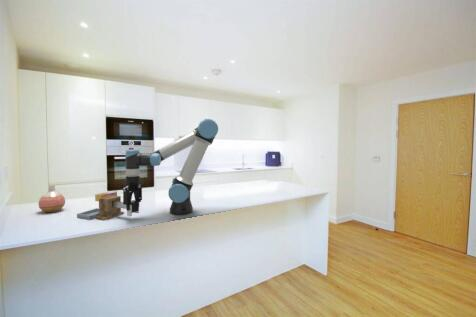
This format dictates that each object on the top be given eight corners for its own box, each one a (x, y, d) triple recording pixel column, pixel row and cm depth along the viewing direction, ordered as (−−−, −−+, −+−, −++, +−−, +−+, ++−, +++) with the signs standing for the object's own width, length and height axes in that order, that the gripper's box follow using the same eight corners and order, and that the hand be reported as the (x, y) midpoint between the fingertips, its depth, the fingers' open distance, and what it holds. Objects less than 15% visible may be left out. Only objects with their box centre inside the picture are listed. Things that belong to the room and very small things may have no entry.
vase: (55, 214, 143) (54, 186, 142) (32, 214, 142) (31, 186, 141) (70, 208, 157) (69, 183, 156) (49, 208, 156) (48, 183, 155)
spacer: (109, 199, 145) (109, 193, 144) (101, 201, 139) (101, 195, 139) (103, 198, 146) (103, 192, 146) (95, 201, 141) (95, 194, 140)
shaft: (138, 210, 137) (138, 200, 137) (132, 212, 133) (132, 202, 132) (105, 206, 145) (105, 197, 145) (98, 208, 141) (98, 198, 140)
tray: (109, 213, 146) (109, 210, 146) (90, 220, 134) (90, 215, 134) (96, 212, 149) (96, 208, 149) (77, 217, 137) (77, 213, 137)
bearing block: (123, 213, 147) (123, 195, 146) (104, 220, 133) (104, 200, 133) (115, 212, 149) (115, 194, 149) (95, 219, 136) (95, 199, 135)
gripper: (138, 173, 144) (139, 209, 145) (115, 177, 127) (115, 217, 128) (148, 174, 142) (148, 210, 143) (125, 178, 125) (126, 219, 126)
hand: (133, 214), depth 136 cm, fingers closed on shaft, 5 cm apart
